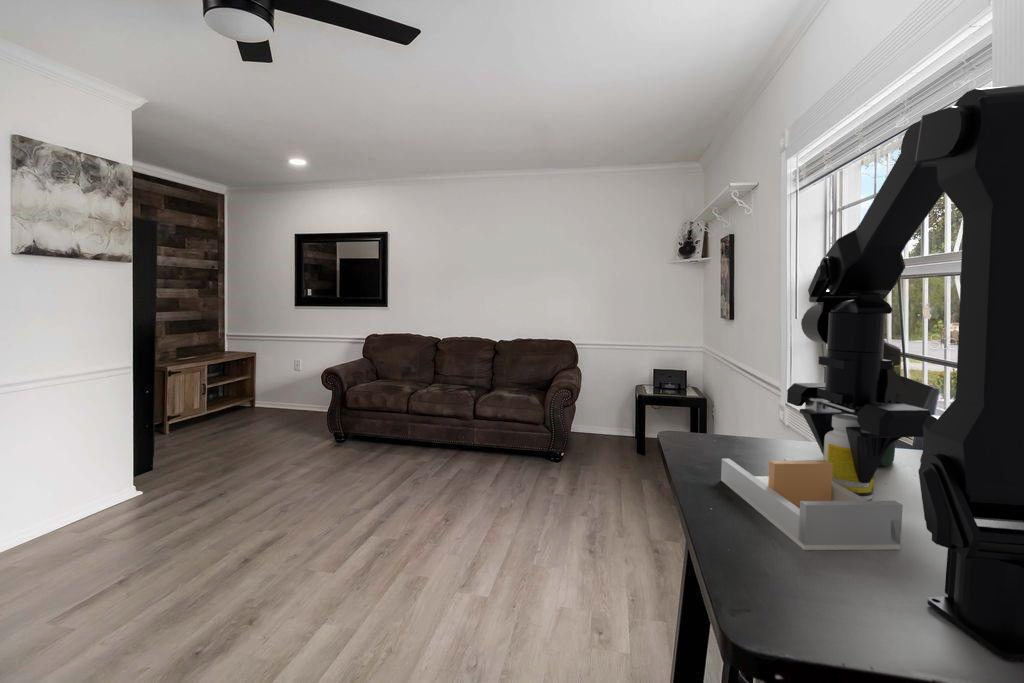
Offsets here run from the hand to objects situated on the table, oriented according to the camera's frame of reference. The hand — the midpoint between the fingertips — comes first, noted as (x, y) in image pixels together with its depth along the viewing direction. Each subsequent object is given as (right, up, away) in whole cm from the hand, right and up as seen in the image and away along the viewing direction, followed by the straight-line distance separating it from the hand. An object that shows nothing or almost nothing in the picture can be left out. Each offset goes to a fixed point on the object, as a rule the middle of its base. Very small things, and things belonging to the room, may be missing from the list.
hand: (848, 474), depth 63 cm
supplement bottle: (0, -3, 0) cm, 3 cm away
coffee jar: (+12, -2, +14) cm, 19 cm away
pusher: (-9, -3, -4) cm, 10 cm away
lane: (-9, -3, -4) cm, 10 cm away
